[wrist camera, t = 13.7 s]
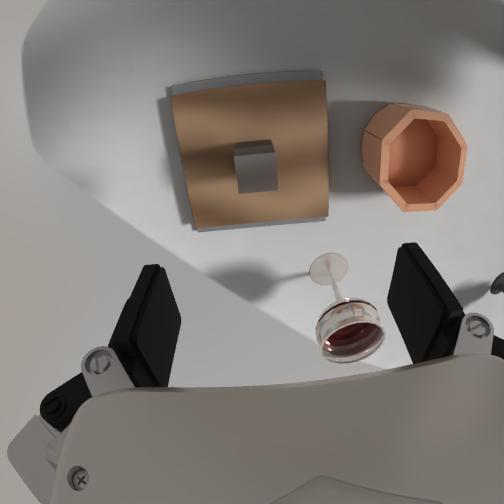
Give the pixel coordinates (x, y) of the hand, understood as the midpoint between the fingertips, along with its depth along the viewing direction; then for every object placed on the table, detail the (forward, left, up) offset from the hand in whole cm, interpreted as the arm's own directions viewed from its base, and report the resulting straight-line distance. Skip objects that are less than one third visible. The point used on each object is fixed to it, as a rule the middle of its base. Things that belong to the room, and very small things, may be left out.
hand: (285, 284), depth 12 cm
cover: (0, -1, -20) cm, 20 cm away
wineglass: (+15, +7, -21) cm, 27 cm away
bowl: (0, +15, -21) cm, 25 cm away
